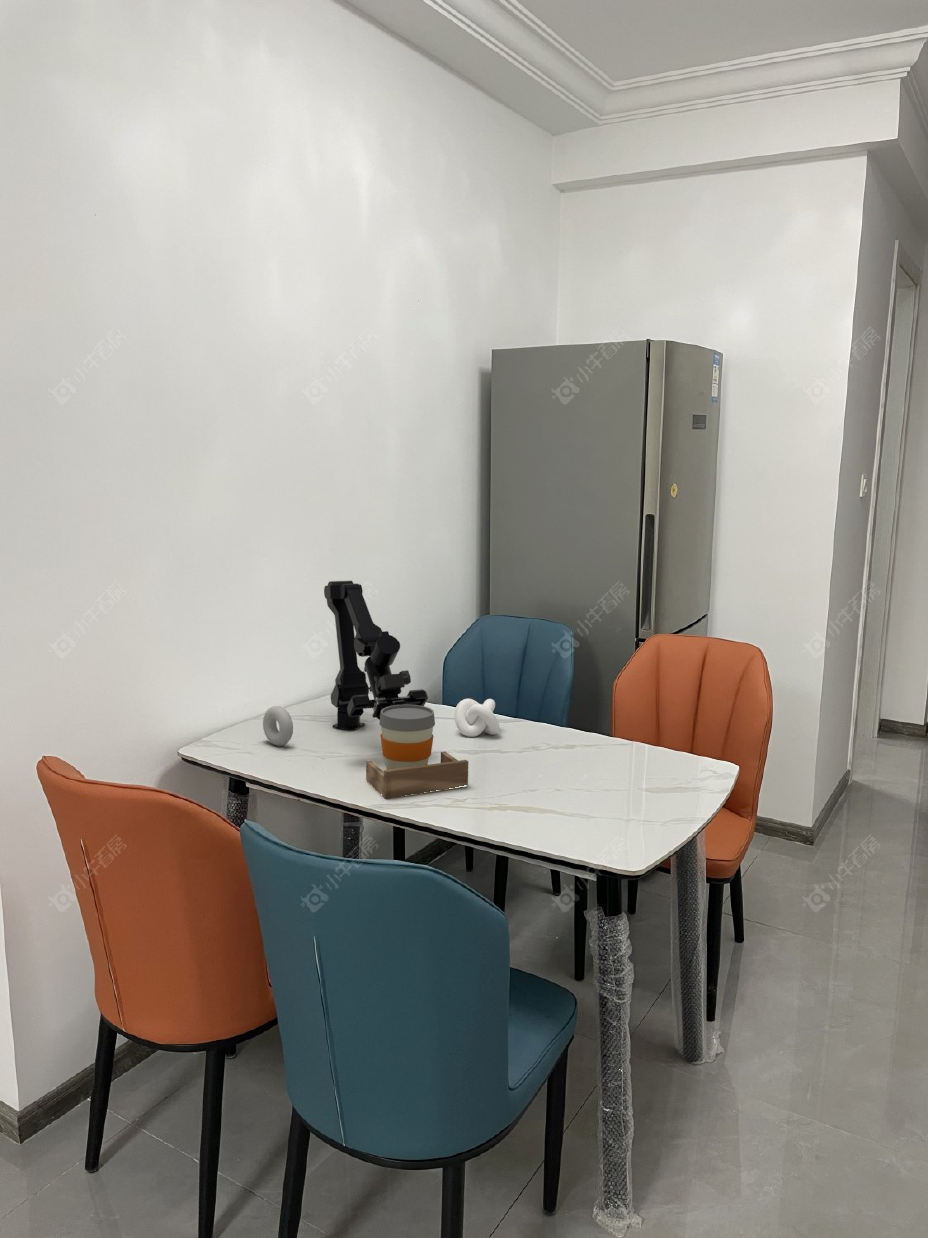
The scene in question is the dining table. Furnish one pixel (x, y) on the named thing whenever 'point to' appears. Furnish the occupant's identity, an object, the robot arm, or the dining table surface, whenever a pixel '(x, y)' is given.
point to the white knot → (476, 717)
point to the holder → (418, 777)
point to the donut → (284, 725)
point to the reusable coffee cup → (406, 735)
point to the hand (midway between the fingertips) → (396, 734)
